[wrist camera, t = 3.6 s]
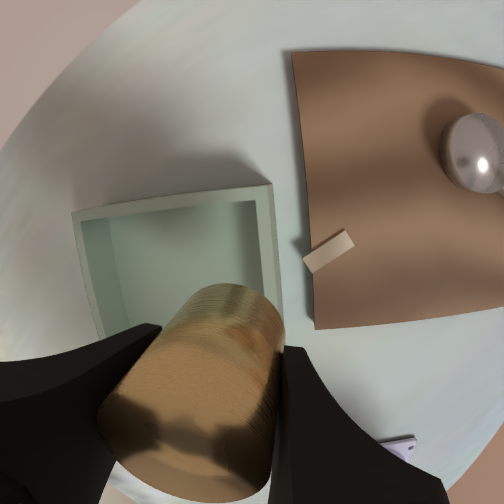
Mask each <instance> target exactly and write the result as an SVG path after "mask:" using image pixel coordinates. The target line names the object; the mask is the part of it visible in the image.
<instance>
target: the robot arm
mask: <svg viewBox="0 0 504 504" xmlns="http://www.w3.org/2000/svg"><path fill="white" fill-rule="evenodd" d="M161 331H162V326H160V325H155V324H150V323H143V324H140V325H137V326H135V327H132V328H130V329H127V330H125V331H122V332H120V333H117V334H115V335H112V336H110V337H107V338H105V339H103V340H100V341H97V342H95V343H92V344H89V345H86V346H83V347H80V348H77V349H75V350H71V351H68V352H64V353H60V354H56V355H52V356H47V357H42V358H36V359H28V360H21V361H9V362H0V504H98V503H99V500H100V498H101V495H102V493H103V490H104V487H105V485H106V483H107V480H108V478H109V476H110V473H111V471H112V469H113V466H114V464H115V462H116V459H115V458H114V457H113V456H112V455H111V453H110V452H109V451H108V449H107V448H106V446H105V444H104V443H103V441H102V439H101V436H100V434H99V431H98V426H97V414H98V410H99V408H100V405H101V404H102V403H103V401H104V400H105V399H106V398H107V396H108V395H109V394H110V393H111V392H112V390H113V389H114V388H115V387H116V385H117V384H118V383H119V382H120V381H121V379H122V378H123V377H124V376H125V374H126V373H127V372H128V371H129V370H130V368H131V367H132V366H133V365H134V364H135V362H136V361H137V360H138V359H139V358H140V356H141V355H142V354H143V353H144V351H145V350H146V349H147V348H148V347H149V345H150V344H151V343H152V342H153V341H154V339H155V338H156V337H157V336H158V335H159V333H160V332H161ZM416 445H417V439H416V438H409V439H404V440H398V441H392V442H386V443H378V442H376V441H375V440H374V439H373V438H372V437H370V436H369V435H368V434H367V433H366V432H364V431H363V430H362V429H361V428H360V427H359V426H358V425H357V424H356V423H355V422H354V421H353V420H352V419H351V418H350V417H349V416H348V415H347V414H346V413H345V412H344V410H343V409H342V408H341V407H340V406H339V404H338V403H337V402H336V400H335V399H334V398H333V396H332V395H331V394H330V392H329V391H328V389H327V388H326V386H325V385H324V383H323V382H322V380H321V379H320V377H319V375H318V374H317V372H316V370H315V368H314V367H313V365H312V363H311V361H310V359H309V357H308V355H307V352H306V350H305V349H304V348H303V347H294V346H285V345H284V349H283V357H282V367H281V387H280V397H279V407H278V416H277V425H276V434H275V442H274V451H273V459H272V473H271V485H270V492H269V498H268V504H449V500H448V496H447V493H446V491H445V488H444V486H443V484H442V482H441V479H439V478H437V477H435V476H433V475H431V474H429V473H427V472H425V471H423V470H421V469H419V468H417V467H415V466H413V465H411V464H410V462H411V459H412V456H413V454H414V451H415V448H416Z"/></svg>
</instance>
